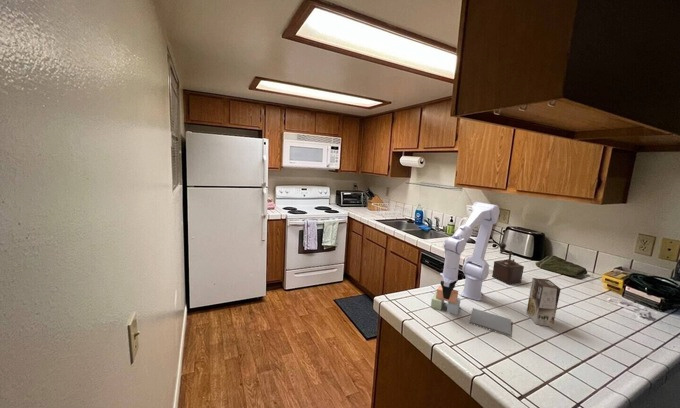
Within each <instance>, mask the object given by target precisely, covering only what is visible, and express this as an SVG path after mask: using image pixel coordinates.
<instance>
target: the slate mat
mask: <svg viewBox="0 0 680 408" xmlns="http://www.w3.org/2000/svg"><path fill="white" fill-rule="evenodd" d="M470 313H471V314H470V317H469V321H468V323H469V324H471V323H472V324H471V325H474V324H475V325H474V326H477V325H478V326H477V327H480V326H481V327H480V328H483V327H484V328H483V329H486V328H487V329H486V330H489V329H490V331H492V330H493V331H492V332H495V331H496V332H495V333H498V334H501V335H505V336H508V337H511V335H512V319H511V318H507V317H505V316H501V315H498V314H494V313H491V312H489V311H488V312H487V311H484V310H480V309H477V308H474V307H472V310H471V312H470Z"/></svg>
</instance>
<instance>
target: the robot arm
mask: <svg viewBox="0 0 680 408" xmlns="http://www.w3.org/2000/svg"><path fill="white" fill-rule="evenodd" d="M500 212H501V211H500V207H499V205H497V204H492V203H491V204H490V203H486V202H480V201H475V202H474V203H473V204H472V206H471V214H470V215H469V216H468V219H467V220H466V222H465V224H461V225H460V226H459V227H458V228H457V229H456V230H455V232H454V233H453V234H452V235H451V236H450V237H447V238H446V239H445V241H444V243H443V248H444V251H443V253H444V254H445V256H444V263H443V264H444V265H443V271H442V272H440V274H439V276H440V277H442V279H443V280H441V281H440V286H442V290H443V298H445V299H448V300H449V298H450V295H451V292H452V290H454V288H456V284H457V283H458V281H459V278H458V276H459V270H460V269H459V268H460V261H461V254H462V253H463V252H464V251H465V248H466V246H467V242H468V241H469V239H470V238H471V236H473V233H474V232H473V230H474V228H475V227H476V226H478V224H479V223H480V226H479V228H478V229H479V230H478V234H477V235H476V236H477V237H476V240H475V243H474V248H473V252H472V256H468V257H466V259H465V261H464V263H463V265H462V273H463V274H464V276H465V279H464V284H463V286H464V287H463V289H462V292H461V297H463V298H467V299H471V300H473V301H474V300H475V301H479V302H480V301H481V299H482V295H483V292H482V288H483V281H485V280H487V278H488V276H489V269H490V264H489V262H487V261H486V259H485V257H486V253H487V249H488V246H489V241H490V237H491V234H492V229H493V226H494V225H495V224H497V223H498V220H499V217H500Z"/></svg>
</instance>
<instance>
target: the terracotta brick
mask: <svg viewBox="0 0 680 408" xmlns="http://www.w3.org/2000/svg"><path fill="white" fill-rule="evenodd" d="M436 292H437V293H436V298H438V299H441V300H444V302H447V303H448V302H452V303H456V302H457V298H459V290H456V289H453V290H452V292H451V295H450V298H449V300H448V299H445V298H443V290H442V286H441V285H438V287H437V288H436Z"/></svg>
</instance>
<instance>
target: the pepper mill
mask: <svg viewBox="0 0 680 408" xmlns="http://www.w3.org/2000/svg"><path fill="white" fill-rule="evenodd" d="M506 247H507V244H506V243H503V242H501V243H500V242H499V244H498V248H499V254H501V255H504V256H505V255H506V256H508V258H507V259H502V260H494V262H493V269H492V275H491V277H492V278H493V279H496V280H497V281H500V282H501V283H504V284H506V285H509V286H510V285H516V284H521V283H522V279H523V275H524V268H525V266H524V265H522V264H519V263H518V262H516V261H515V259H514V258H513V259H512V255H513V251H512V250H509V252H508V253H507V252H506Z"/></svg>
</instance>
